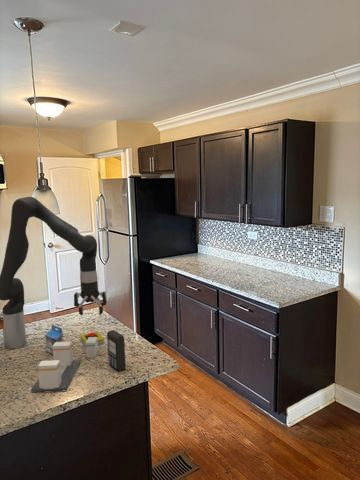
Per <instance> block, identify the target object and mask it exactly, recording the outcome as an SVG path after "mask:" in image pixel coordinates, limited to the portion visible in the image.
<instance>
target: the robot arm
mask: <svg viewBox="0 0 360 480" xmlns="http://www.w3.org/2000/svg"><path fill="white" fill-rule="evenodd" d="M10 216H11V217H10V225H9V226H10V229H9V233H8V239H7V242H6V243H7V244H6V247H5V252H4V259H3V263H2V266H1V267H2V268H1V271H0V301H3V302H5V301H7V303H5V304H4V305H3V307H2V320H3V328H2V339H3V347H4V349H8V350H16V349H19V348H23V347H25V346H26V345H27V344H28V343H27V333H26V324H25V323H26V321H25V313H24V306H25V288H24V284H23V282H22V281H21V279H19V278H18V277H15V276H16V274H17V272H18V271H19V270H20V268H22V266H23V264H24V263H25V261H26V259H27V256H28V254H29V253H28V252H29V247H30V245H29V244H30V243H29V239H28V236H27V226H28V222H29V219H30V218H36V219H38V220H41V221H42V222H43V223H45V225H47V226H48V227H49V229H50V230H51V232H53V233H54V234H55V235H56V236H57V237H59V238H60V239H63V240H64V241H66V242H67V243H68V244H69V245H70V246H72V248H74V249H75V250H76V251H78V252H80V253H82V255H81V258H80V259H79V269H80V270H79V276H80V277H79V280H80V281H79V282H80V292H74V294H73V306H74V307H77V308H78V314H79V315H80V316H83V315H84V309H83V307H84V306H83V305H84V304H85V303H94V302H95V303H96V304H97V305H98V306H99V307H98V311H99V315H100V316H102V314H103V313H104V306H107V303H108V302H107V293H106V291H101V292H100V291H99V280H98V279H99V276H98V272H97V261H96V260H97V252H98V242H97V239H96V238H95V236H93V235H90V234H89V235H82V234H81V233H79V230H78V229H77V228H76V227H75V226H73V225H72V224H70V223H68V222H67V221H65V220H63V219H62V218H61V217H59V216H58V215H56V214H55V213H54V212H53V211H51V210H50V209H48V208H47V207H46V206H45V205H44V204H43V203H42V202H41V201H40V200H39V199H37V198H36V197H34V196H26V197H24V196H23V197H20V198H18V199H16V200H15V201H14V202H13V204H12V207H11V215H10ZM99 296H100V297H101V298H102V300H101V299H100V298H99ZM80 297H81V299H82V300H81V302H79V298H80Z"/></svg>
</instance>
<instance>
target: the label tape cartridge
mask: <svg viewBox="0 0 360 480" xmlns="http://www.w3.org/2000/svg"><path fill="white" fill-rule="evenodd" d="M44 337H45V338H44V339H45V347H46V349H45V350H46V353H49V354H51V355H53V347H52V346H53V345H54V343H55V342H64V340H63V328H62V327H59V326H58V325H57V326H56V325H54V324H51V329H50V330H49V331H48V332H46V334H45V335H44Z"/></svg>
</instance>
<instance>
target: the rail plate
mask: <svg viewBox="0 0 360 480" xmlns="http://www.w3.org/2000/svg"><path fill="white" fill-rule="evenodd" d="M80 365H81V360H80V359H78V360H76V359H75V360H74V359H73V362H72V364H71V366H60V368H61V381H62V382H61V384H60V386H59V388H40V386H39V378H38V379H37V380H36V382H35V383H34V385H33V386H32V387H31V389H30V391H31V392H32V393H46V392H45V391H55V392H64V391H63V390H67V391H68V389H69V387H70V385H71V383H72V380H73V379H74V377H75V375H76V373H77V372H78V371H77V370H78V369H79V366H80ZM68 386H69V387H68ZM67 388H68V389H67Z"/></svg>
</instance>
